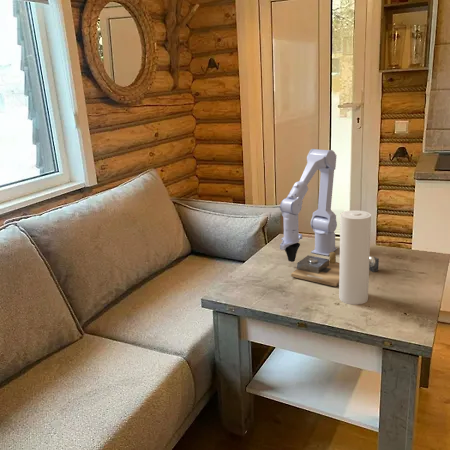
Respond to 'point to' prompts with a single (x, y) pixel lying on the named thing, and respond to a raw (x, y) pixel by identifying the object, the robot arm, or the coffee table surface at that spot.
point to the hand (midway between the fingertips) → (291, 260)
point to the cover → (313, 264)
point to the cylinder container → (354, 256)
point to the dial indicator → (373, 264)
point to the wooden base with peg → (322, 273)
